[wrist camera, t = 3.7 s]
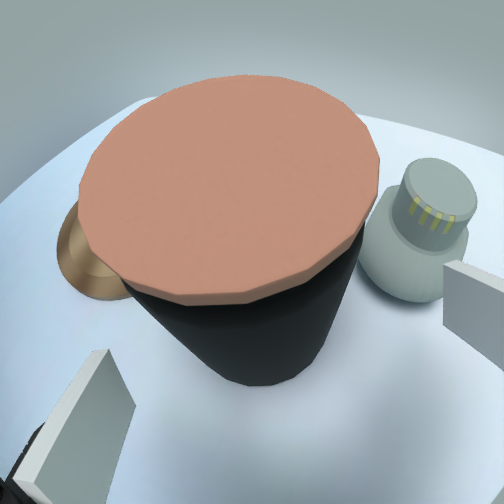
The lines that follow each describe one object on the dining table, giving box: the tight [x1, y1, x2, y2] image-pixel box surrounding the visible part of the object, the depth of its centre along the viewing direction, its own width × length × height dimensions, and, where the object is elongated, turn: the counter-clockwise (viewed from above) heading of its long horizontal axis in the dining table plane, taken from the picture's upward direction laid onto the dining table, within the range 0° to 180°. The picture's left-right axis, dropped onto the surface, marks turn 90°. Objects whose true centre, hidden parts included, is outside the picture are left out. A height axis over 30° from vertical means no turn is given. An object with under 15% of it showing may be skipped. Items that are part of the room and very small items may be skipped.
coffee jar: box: [78, 75, 380, 386], centre depth 18 cm, size 11×11×18 cm
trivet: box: [57, 201, 132, 300], centre depth 32 cm, size 16×16×1 cm
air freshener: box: [358, 158, 477, 302], centre depth 23 cm, size 11×8×10 cm
